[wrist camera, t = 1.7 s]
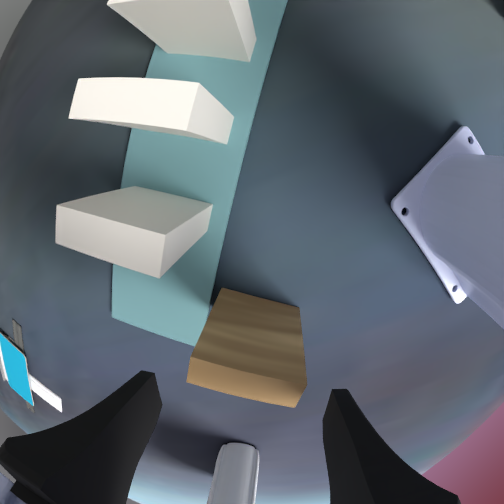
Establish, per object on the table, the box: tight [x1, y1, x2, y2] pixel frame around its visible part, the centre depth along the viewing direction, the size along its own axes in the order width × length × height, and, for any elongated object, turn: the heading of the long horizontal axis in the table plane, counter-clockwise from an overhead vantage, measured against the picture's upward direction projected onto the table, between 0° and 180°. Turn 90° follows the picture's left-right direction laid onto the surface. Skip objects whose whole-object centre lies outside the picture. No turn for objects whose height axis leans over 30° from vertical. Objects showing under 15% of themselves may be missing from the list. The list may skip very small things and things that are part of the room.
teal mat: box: [112, 0, 288, 346], centre depth 15 cm, size 28×7×1 cm, turn 166°
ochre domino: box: [187, 288, 307, 408], centre depth 15 cm, size 2×5×7 cm, turn 76°
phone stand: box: [0, 319, 62, 412], centre depth 24 cm, size 20×12×2 cm, turn 154°
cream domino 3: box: [56, 186, 213, 279], centre depth 13 cm, size 2×5×7 cm, turn 76°
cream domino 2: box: [69, 77, 234, 144], centre depth 11 cm, size 2×5×7 cm, turn 76°
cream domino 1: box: [107, 0, 257, 62], centre depth 9 cm, size 2×5×7 cm, turn 76°
